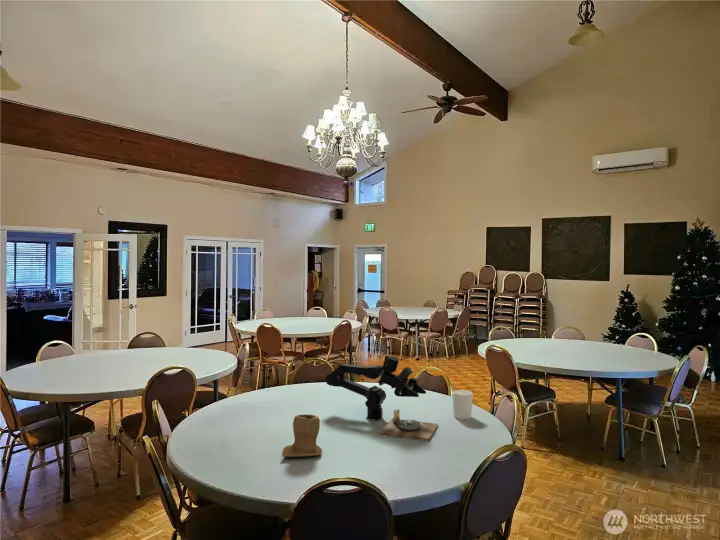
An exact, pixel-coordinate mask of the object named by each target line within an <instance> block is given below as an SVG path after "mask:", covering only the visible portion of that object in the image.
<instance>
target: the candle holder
mask: <svg viewBox="0 0 720 540" xmlns="http://www.w3.org/2000/svg"><path fill="white" fill-rule="evenodd" d="M451 393H452V407H453V417H454V418H455V419H457V418H458V420H462V419H466V420H469V418H470V419H471V418H472V414H473V412H472V411H473V410H472V409H473V396H474V393H473V391H472V390H466V389H455V390H453V391H452V392H451Z"/></svg>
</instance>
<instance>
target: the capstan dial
mask: <svg viewBox="0 0 720 540" xmlns="http://www.w3.org/2000/svg"><path fill="white" fill-rule="evenodd" d="M400 413H401V412H400V409H398V408H397V409H394V410H393V418H392V419H393V423H394V424H397V425H398V428H399V429H400V430H402V431H407V432H414V431H418V430H420V428H421V424H420V422H421V421H419V420H415V419H401V418H400V415H401V414H400Z"/></svg>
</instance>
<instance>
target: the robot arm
mask: <svg viewBox="0 0 720 540" xmlns="http://www.w3.org/2000/svg"><path fill="white" fill-rule="evenodd" d="M399 362H400V359H399V358H398V357H397V356H392V355H385V357H384V361H383V364H382V365H379V364H377V365H368V366H365V365H364V366H363V365H356V364H349V363H348V364H347V363H342V364H339V365H338V367H336V368H335V370H333V371H332V372H331V373H329V374H327V375H326V376H325V382H326V385H327V386H331V387H339V388H340V387H341V388H343V389H346V390H348V391H351V392H353V393H356V394H357V395H360V396H363V397H364V398H366V401H365V402H364V403H365V407H367V408H366V409H367V412H366V413H367V416H366V419H367V420H374V421H380V420H381V419H382V418H383V417H384V416H383V414H384V413H383V410H384V409H383V407H382V404H383V403H384V401H385V400H386V399H387V394H386V391H385V390H384V389H383V387H381V386H383V385H384V384H385V385H388V386H390V388H391V389H394V390H393V393H394V396H396V397H401V398H403V397H409V398H411V397H412V398H419V396H420V394H421V395H422V394H423V395H426V394H427V391H426V390H425V389H424V388H423V387H422V386H421V385H419V383H418V378H416V377H411V378H409V377H410V375H412V373H413V370H412V368H411V367H409V366H407V367H404V368H403V369H402V371H401V372H400V373H399V374H398V375H397V374H394V372H397V369H398V365H399ZM345 374H352V375H360V376H364V377H365V378H368V379H371V380H376V379H379V380H377V383H378V384H379V385H378V386H380V387H378V386H377V385H373V386H371V387H368V386H365V385H363V384H360V383H359V382H355V381H354V380H351V379H348V378H346V377H345Z"/></svg>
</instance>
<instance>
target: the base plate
mask: <svg viewBox="0 0 720 540" xmlns="http://www.w3.org/2000/svg"><path fill="white" fill-rule="evenodd" d="M419 422H420V424H421V428H420V430H418V431H414V432H407V431H402V430H400V429H399V428H398V425H397V424H394V423H393V418H391V419H390V420H389V421H388V422H386V424H385V425H384V427H383V428H382V429H381V430H380V431H379V432H378V435H379V436H387V437H395V438H401V439H410V440H418V441H426V442H430V440H431V439H432V437H433V435H434V434H435V432H436V429H438V427H439V424H438V423H434V422H426V421H419Z"/></svg>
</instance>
